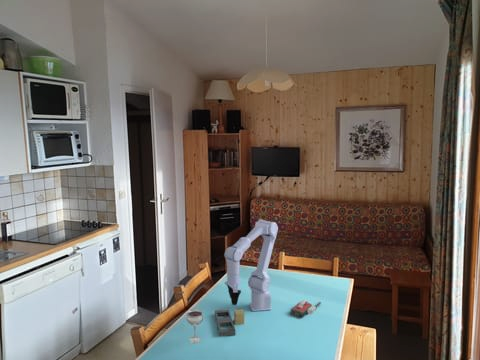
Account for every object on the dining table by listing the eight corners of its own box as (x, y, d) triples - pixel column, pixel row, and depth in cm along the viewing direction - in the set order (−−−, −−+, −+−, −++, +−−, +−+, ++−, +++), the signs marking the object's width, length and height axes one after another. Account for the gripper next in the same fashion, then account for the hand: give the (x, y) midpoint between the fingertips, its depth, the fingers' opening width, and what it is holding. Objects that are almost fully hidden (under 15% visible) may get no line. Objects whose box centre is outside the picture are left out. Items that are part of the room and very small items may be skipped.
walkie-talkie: (305, 320, 176) (322, 305, 193) (305, 312, 176) (322, 297, 192) (288, 315, 181) (306, 301, 198) (288, 307, 181) (306, 292, 197)
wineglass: (189, 345, 155) (189, 318, 153) (185, 337, 161) (184, 311, 160) (205, 342, 157) (205, 315, 156) (200, 334, 164) (200, 308, 162)
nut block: (242, 319, 177) (242, 309, 176) (244, 323, 173) (244, 313, 172) (234, 320, 176) (234, 310, 175) (235, 324, 172) (235, 314, 172)
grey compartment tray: (229, 313, 183) (229, 309, 182) (235, 335, 163) (235, 330, 163) (214, 314, 182) (214, 310, 181) (219, 336, 162) (219, 332, 162)
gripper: (223, 267, 180) (223, 294, 181) (226, 279, 166) (226, 308, 167) (237, 267, 181) (237, 294, 182) (242, 278, 167) (242, 307, 168)
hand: (233, 300), depth 175 cm, fingers open, 7 cm apart
